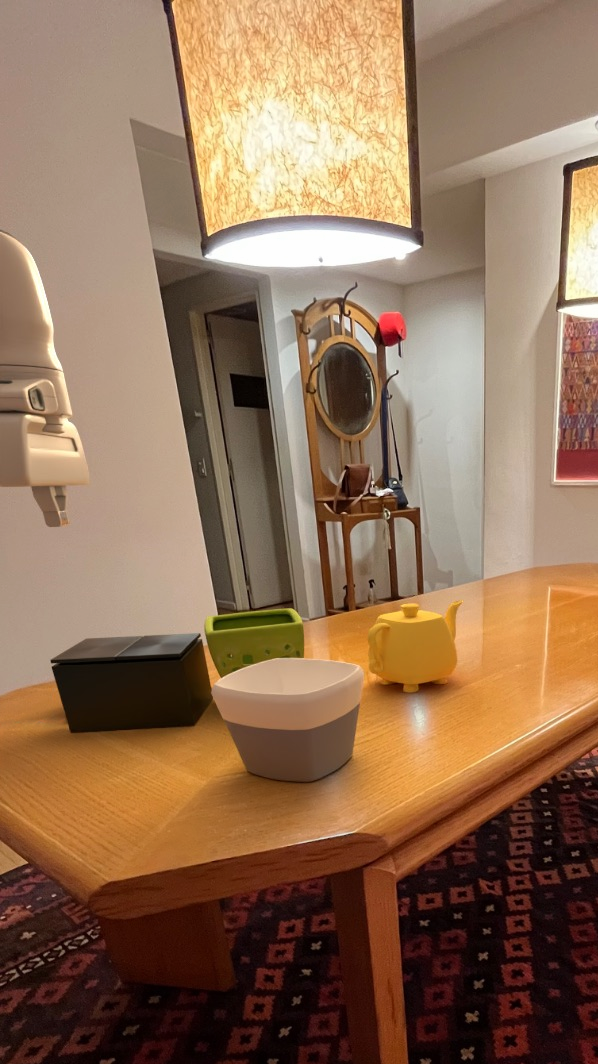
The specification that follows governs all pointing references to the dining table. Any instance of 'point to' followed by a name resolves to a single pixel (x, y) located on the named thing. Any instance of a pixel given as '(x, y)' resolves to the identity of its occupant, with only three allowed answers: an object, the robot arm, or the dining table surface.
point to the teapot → (413, 646)
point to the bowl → (292, 715)
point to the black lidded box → (138, 686)
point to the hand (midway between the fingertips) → (58, 526)
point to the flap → (96, 649)
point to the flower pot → (253, 638)
